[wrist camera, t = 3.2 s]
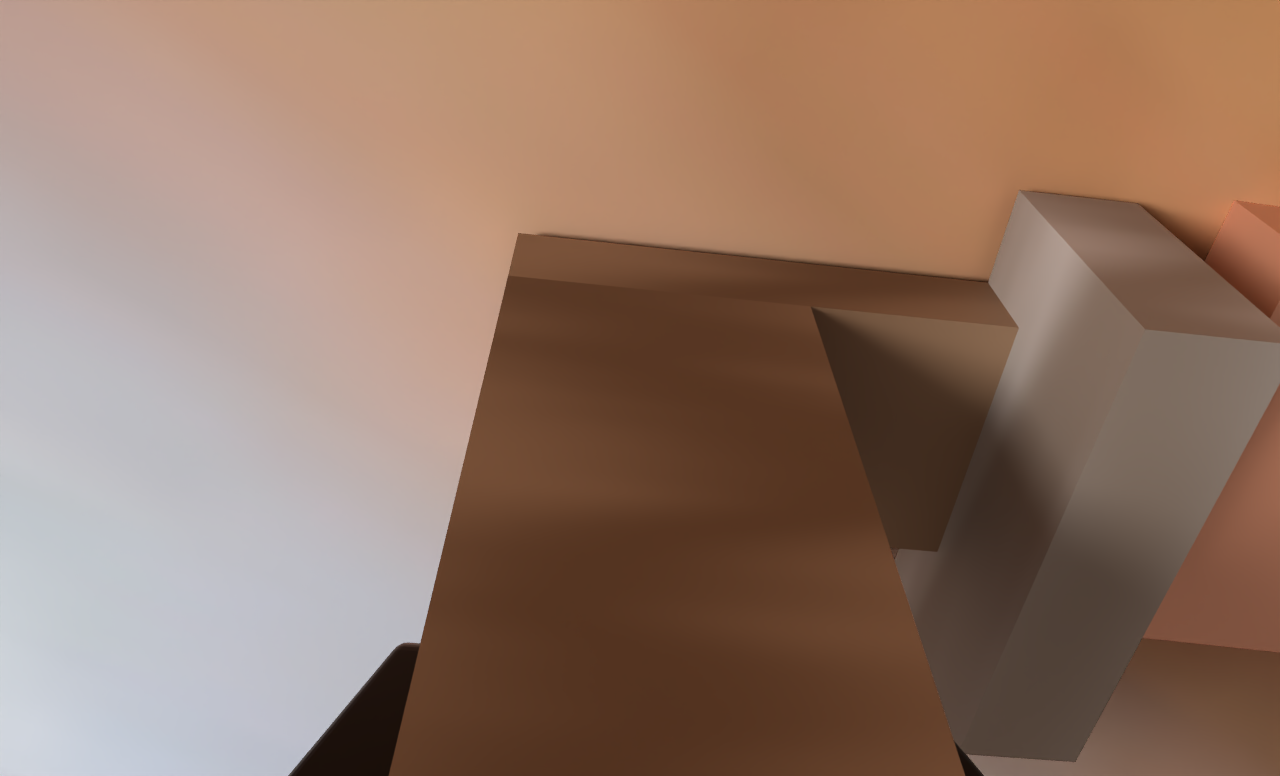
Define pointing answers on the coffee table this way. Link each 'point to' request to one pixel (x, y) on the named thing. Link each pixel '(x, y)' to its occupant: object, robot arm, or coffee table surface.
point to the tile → (1238, 483)
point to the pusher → (827, 503)
